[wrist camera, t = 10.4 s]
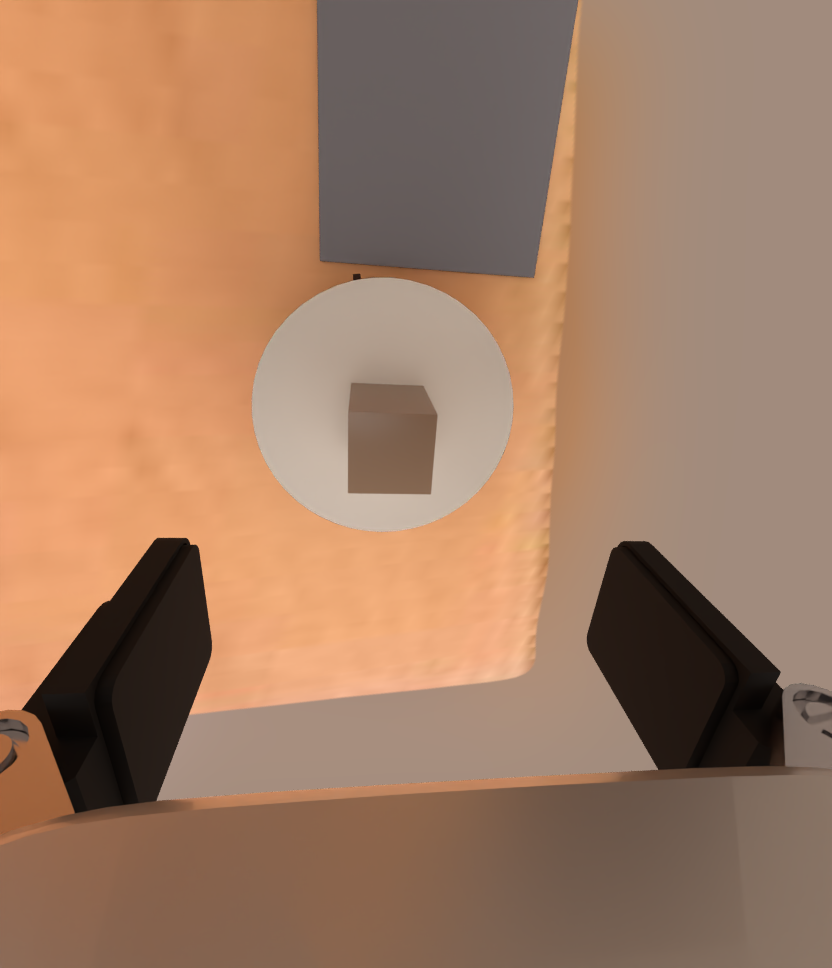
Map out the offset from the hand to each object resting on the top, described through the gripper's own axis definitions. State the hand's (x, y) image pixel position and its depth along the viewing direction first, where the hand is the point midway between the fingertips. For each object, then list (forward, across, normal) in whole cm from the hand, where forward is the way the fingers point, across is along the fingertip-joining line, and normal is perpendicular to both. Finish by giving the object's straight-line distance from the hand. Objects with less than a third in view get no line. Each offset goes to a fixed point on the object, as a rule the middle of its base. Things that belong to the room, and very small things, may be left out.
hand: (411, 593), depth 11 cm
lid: (+15, 0, 0) cm, 15 cm away
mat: (+25, -3, -14) cm, 29 cm away
